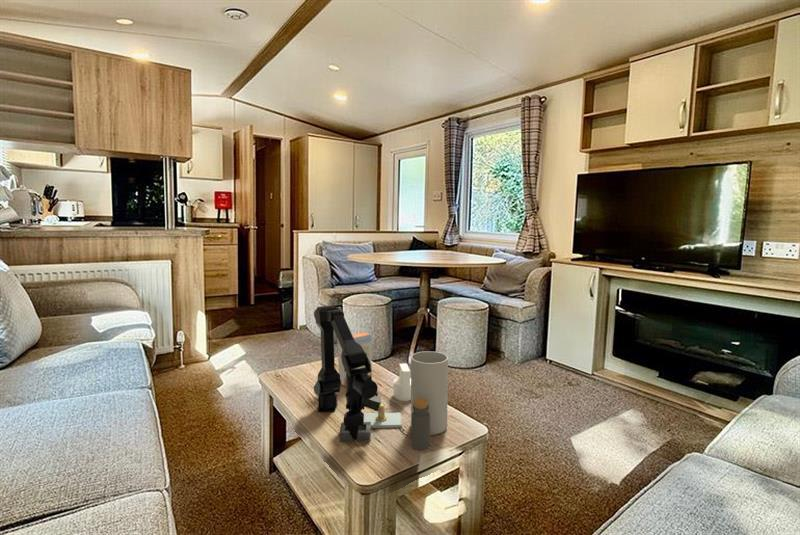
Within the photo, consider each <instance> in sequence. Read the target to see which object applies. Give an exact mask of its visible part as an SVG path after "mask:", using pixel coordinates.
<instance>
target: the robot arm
mask: <svg viewBox="0 0 800 535" xmlns="http://www.w3.org/2000/svg"><path fill="white" fill-rule="evenodd" d="M313 316H314V320H315V324H316V325H317V327H318V328H319V330H320V331H319V332H320V353H321V354H320V356H321V358H320V359H321V367H320V370H319V372H318V373H317V380H316V382H315V384H314V386H313V393H314V394H315V395H316V396H317V401H318V402H317V403H318V404H317V405H318V406H317V407H318V408H317V412H318V413H321V412H322V413H323V412H324V413H325V412H335V411H336V409H337V408H338V394H337V393H340V391H341V380H340V374H339V371H338V370H337V369H336V363H335V361H336V360H335V335H336V338H338V340H339V343H340V345H341V348H342V354H341V358H342V364H343V366H344V371H345V372H346V387H345V390H346V391H345V397H346V398H345V399H346V404H345V409H346V410H348V411H346V412H345V413H344V414H343V423H344V425H345V426H346V427H347V429H348V430H349V432H350V434H351V436H352V438H353V440H356V439H357V434H358V429H359V426H360V425H363V424H364V413H365V412H364V413H363V412H362V411H363V410H365V409H366V408H367V409H371V410H373V411H374V412H378V409H379V406H380V404H382V397H381V395H379V393H378V388H379V387H378V384H377V382H375V381H374V380H373V376H372V377H371V376H369V375H368V373H370V372H373V370H371V364H372V363H371V364H370V362H369V359H368V357H367V354H366V353H365V351H364V350H363V348H362V346H361V345H360V344H358V343H356V342H355V340H354V338H353V336H352V332H351V329H350V327H349V325H348V322H347V321H346V318H345V312H344V310H343V309H341V307H336V305H334V304H331V305H324V306H322V305H321V306H317V307H316V309H315V310H314V311H313ZM334 334H335V335H334ZM364 365H365V368H360V369H358V367H363V366H364Z"/></svg>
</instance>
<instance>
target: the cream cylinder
mask: <svg viewBox="0 0 800 535" xmlns="http://www.w3.org/2000/svg"><path fill="white" fill-rule="evenodd" d="M398 372H399V377H398V378H395V379H394V380H393V398H394V399H396V400H399V401H403V402H404V401H405V402H406V401H411V368H409V366H408V364H407V363H405V362H404V363H399V371H398Z"/></svg>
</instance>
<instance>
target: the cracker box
mask: <svg viewBox="0 0 800 535" xmlns="http://www.w3.org/2000/svg"><path fill="white" fill-rule="evenodd" d="M351 334H352V333H351ZM352 336H353V338H354V340H355V342H356V343H358V344H360V345H361V346H362V348H363V350H364V351H365V353H366V354H367V357H368V359H369V362H370V364H371V370H372V368H373V367H372V334H371V333H368V332H366V331H363V332H358V333H353V334H352ZM336 338H337V337H336ZM336 340H337V362H338V363H337V364H338V365H337V367H338V370H337V371H338V373H339V374H340V380H341V385H342V386H343V387H345V388H346V372H345V371H344V366H343V364H342V358H341V354H342V348H341V345H340V343H339V340H338V338H337V339H336ZM360 368H365V365H364V366H363V367H358V369H360ZM372 372H373V370H372ZM372 372H370V373H368V375H369V376H371V377H372V378H373V374H372Z"/></svg>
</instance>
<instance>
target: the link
mask: <svg viewBox="0 0 800 535" xmlns="http://www.w3.org/2000/svg"><path fill="white" fill-rule="evenodd" d="M338 435H339V436H338V437H339V442H340V443H342V442H349V443H350V442H371V440H372V438H371V437H372V436H371V435H372V428H371V422H364V424H363V425H360V426H359V429H358V434H357V439H356V440H353V438H352V436H351V434H350V432H349V430H348V429H347V427H346V426H345V425H344V422H341V423H340V428H339V433H338Z"/></svg>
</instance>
